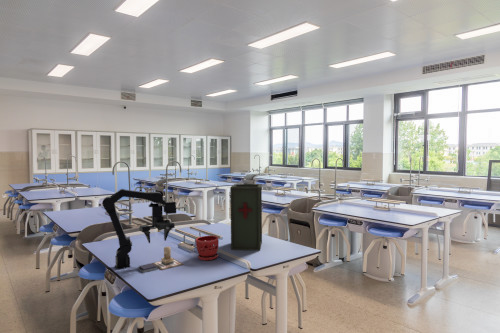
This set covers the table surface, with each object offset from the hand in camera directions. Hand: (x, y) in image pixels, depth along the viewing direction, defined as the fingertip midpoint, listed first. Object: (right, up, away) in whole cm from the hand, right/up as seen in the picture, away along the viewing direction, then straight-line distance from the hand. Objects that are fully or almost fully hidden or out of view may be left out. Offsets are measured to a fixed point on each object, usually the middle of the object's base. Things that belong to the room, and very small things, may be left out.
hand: (157, 241), depth 185 cm
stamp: (+7, -11, -3) cm, 13 cm away
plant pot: (+27, -11, +7) cm, 31 cm away
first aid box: (+50, -10, +31) cm, 60 cm away
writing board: (+7, -12, -3) cm, 14 cm away
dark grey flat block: (-2, -12, -10) cm, 16 cm away
